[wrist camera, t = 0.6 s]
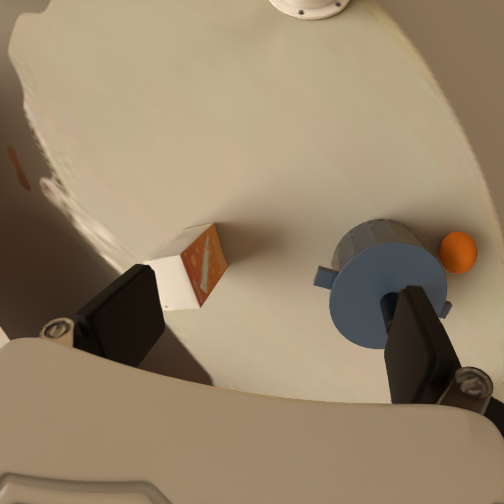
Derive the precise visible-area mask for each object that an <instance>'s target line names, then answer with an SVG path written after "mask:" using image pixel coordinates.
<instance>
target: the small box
mask: <svg viewBox="0 0 504 504" xmlns="http://www.w3.org/2000/svg"><path fill="white" fill-rule="evenodd" d="M143 264H144V265H150V266H151V268H152V269H153V270H154V271H155V275H156V281H157V286H158V292H159V297H160V302H161V306H162V308H163V311H175V310H186V309H196V308H201V306H202V305H203V303H204V302H205V300H206V299H207V297H208V296H209V294H210V293H211V291H212V290H213V289H214V287H215V285H216V284H217V283H218V281H219V280H220V278H221V277H222V275H223V274H224V272H225V271H226V269H227V268H228V264H227V261H226V259H225V256H224V253H223V250H222V247H221V244H220V240H219V237H218V234H217V231H216V227H215V224H214V223H210V224H205V225H201V226H196V227H192V228H187V229H183V230H181V231H180V232H178V233H177V234H176V235H174V236H173V237H172V238H171V239H169V240H168V241H167V242H166V243H165V244H163V245H162V246H161V247H160V248H158V249H157V250H156V251H155V252H154V253H152V254H151V255H150V256H149V257H147V258H146V259H145V260H144V261H143Z"/></svg>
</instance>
